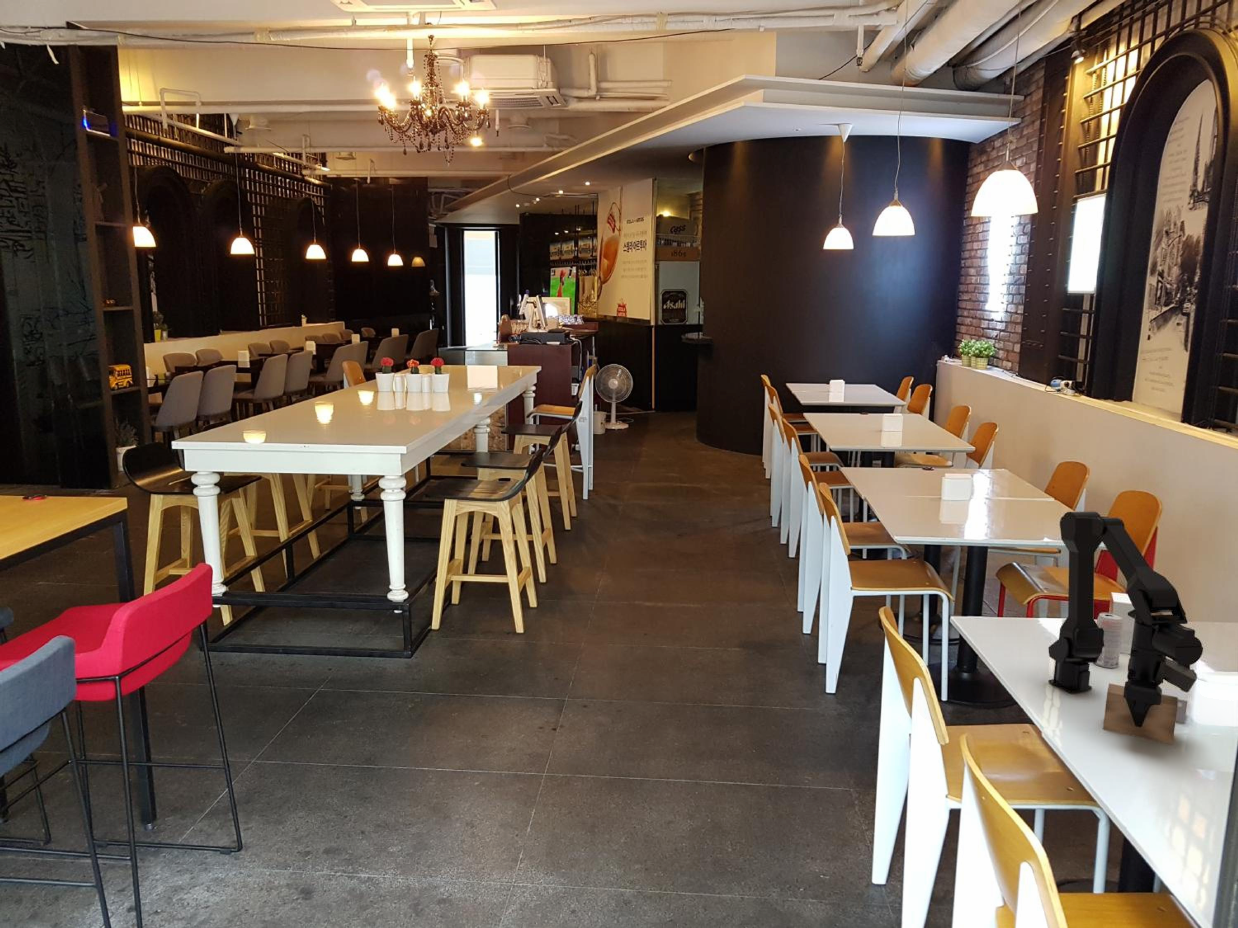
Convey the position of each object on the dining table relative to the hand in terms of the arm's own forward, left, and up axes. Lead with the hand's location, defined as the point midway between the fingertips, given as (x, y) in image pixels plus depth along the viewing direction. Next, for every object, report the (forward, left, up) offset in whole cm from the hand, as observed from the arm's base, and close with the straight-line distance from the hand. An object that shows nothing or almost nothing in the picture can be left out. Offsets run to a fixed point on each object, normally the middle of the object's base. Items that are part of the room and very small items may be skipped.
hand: (1139, 719), depth 180 cm
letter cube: (-2, +13, -3) cm, 13 cm away
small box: (-33, +38, -3) cm, 50 cm away
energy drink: (-27, +25, -3) cm, 37 cm away
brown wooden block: (0, 0, -3) cm, 3 cm away
